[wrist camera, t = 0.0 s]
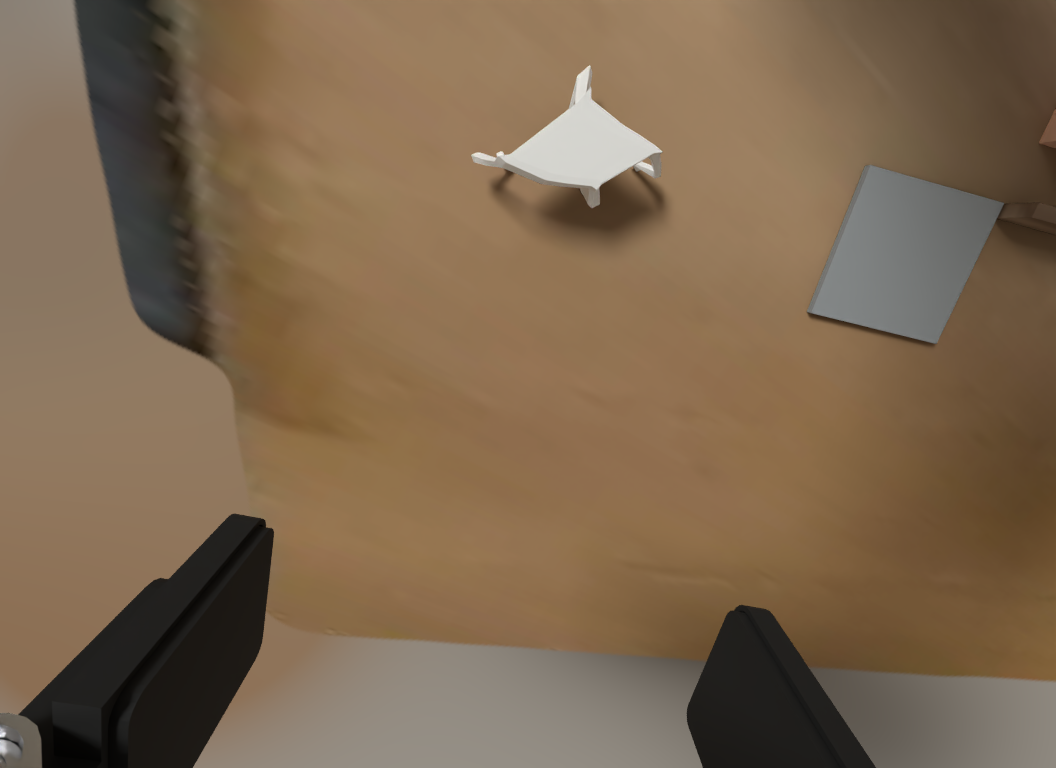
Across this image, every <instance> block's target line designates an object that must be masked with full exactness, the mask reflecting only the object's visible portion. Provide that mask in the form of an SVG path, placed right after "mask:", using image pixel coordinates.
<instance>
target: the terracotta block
mask: <svg viewBox="0 0 1056 768" xmlns="http://www.w3.org/2000/svg"><path fill="white" fill-rule="evenodd" d="M1039 144H1042V145H1046V146H1049V147H1052V148H1056V108H1055V111H1054V113H1053V115H1052V117H1051V119H1050V121H1049V123H1048V125H1047V127H1046V129H1045V131H1044V133H1043V135H1042V137H1041V139H1040V141H1039Z"/></svg>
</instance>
